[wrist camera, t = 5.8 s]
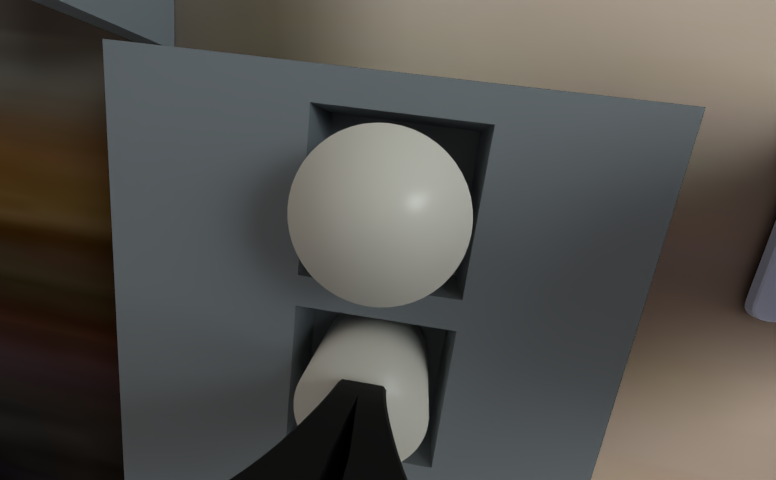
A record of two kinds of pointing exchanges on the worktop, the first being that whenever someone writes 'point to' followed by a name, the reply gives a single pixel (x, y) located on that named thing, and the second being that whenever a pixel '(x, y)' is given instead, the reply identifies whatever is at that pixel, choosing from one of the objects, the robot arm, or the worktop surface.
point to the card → (124, 17)
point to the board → (321, 307)
